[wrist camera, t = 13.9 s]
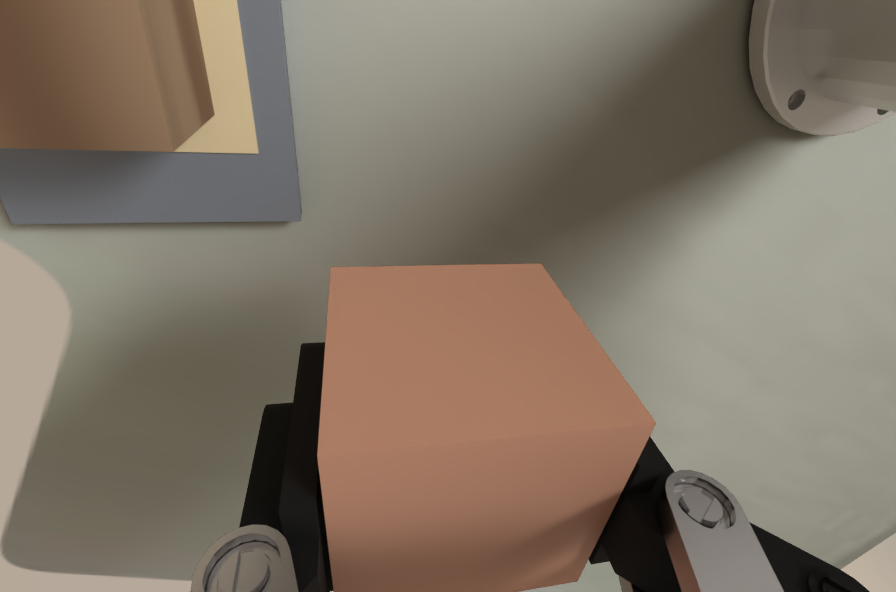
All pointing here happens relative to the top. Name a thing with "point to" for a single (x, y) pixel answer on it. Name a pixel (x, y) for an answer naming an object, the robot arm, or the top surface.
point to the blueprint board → (184, 145)
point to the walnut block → (101, 75)
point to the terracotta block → (467, 430)
